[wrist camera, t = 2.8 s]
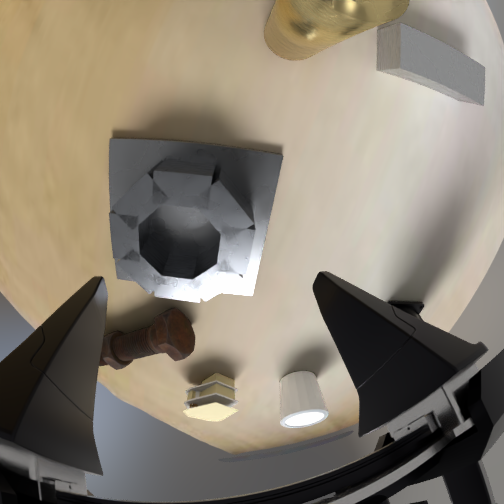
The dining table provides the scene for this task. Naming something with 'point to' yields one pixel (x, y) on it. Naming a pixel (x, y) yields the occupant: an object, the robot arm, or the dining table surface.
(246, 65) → the dining table surface
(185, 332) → the bolt
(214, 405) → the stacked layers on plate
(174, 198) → the socket block
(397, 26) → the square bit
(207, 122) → the dining table surface
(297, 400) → the shot glass
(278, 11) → the pale yellow tall bar
